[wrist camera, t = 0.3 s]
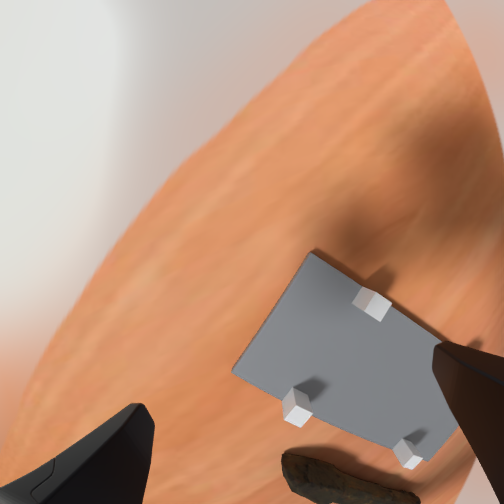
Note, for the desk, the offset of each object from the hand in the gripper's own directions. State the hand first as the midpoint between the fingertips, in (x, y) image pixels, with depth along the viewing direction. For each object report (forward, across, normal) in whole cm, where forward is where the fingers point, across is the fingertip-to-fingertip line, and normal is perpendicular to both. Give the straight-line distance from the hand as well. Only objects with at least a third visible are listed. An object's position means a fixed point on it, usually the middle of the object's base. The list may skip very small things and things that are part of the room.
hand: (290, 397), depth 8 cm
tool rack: (+13, -8, +12) cm, 19 cm away
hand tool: (+10, -3, +25) cm, 27 cm away
